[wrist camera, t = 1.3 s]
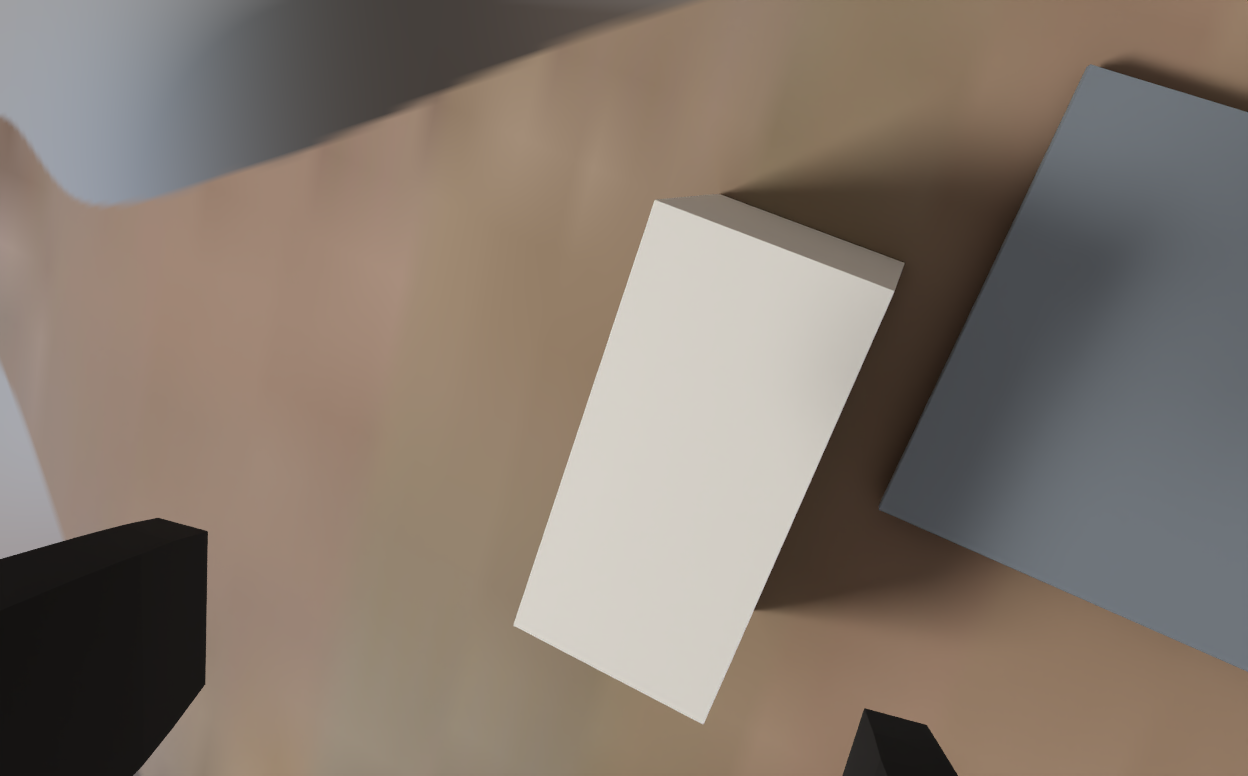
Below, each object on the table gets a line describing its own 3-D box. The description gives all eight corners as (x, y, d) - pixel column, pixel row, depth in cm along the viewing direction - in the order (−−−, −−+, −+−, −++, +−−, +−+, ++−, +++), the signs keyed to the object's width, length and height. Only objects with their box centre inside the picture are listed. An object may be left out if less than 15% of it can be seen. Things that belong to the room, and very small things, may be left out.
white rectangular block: (904, 263, 17) (894, 290, 13) (751, 611, 20) (703, 724, 16) (718, 193, 18) (655, 199, 14) (596, 536, 21) (513, 625, 17)
